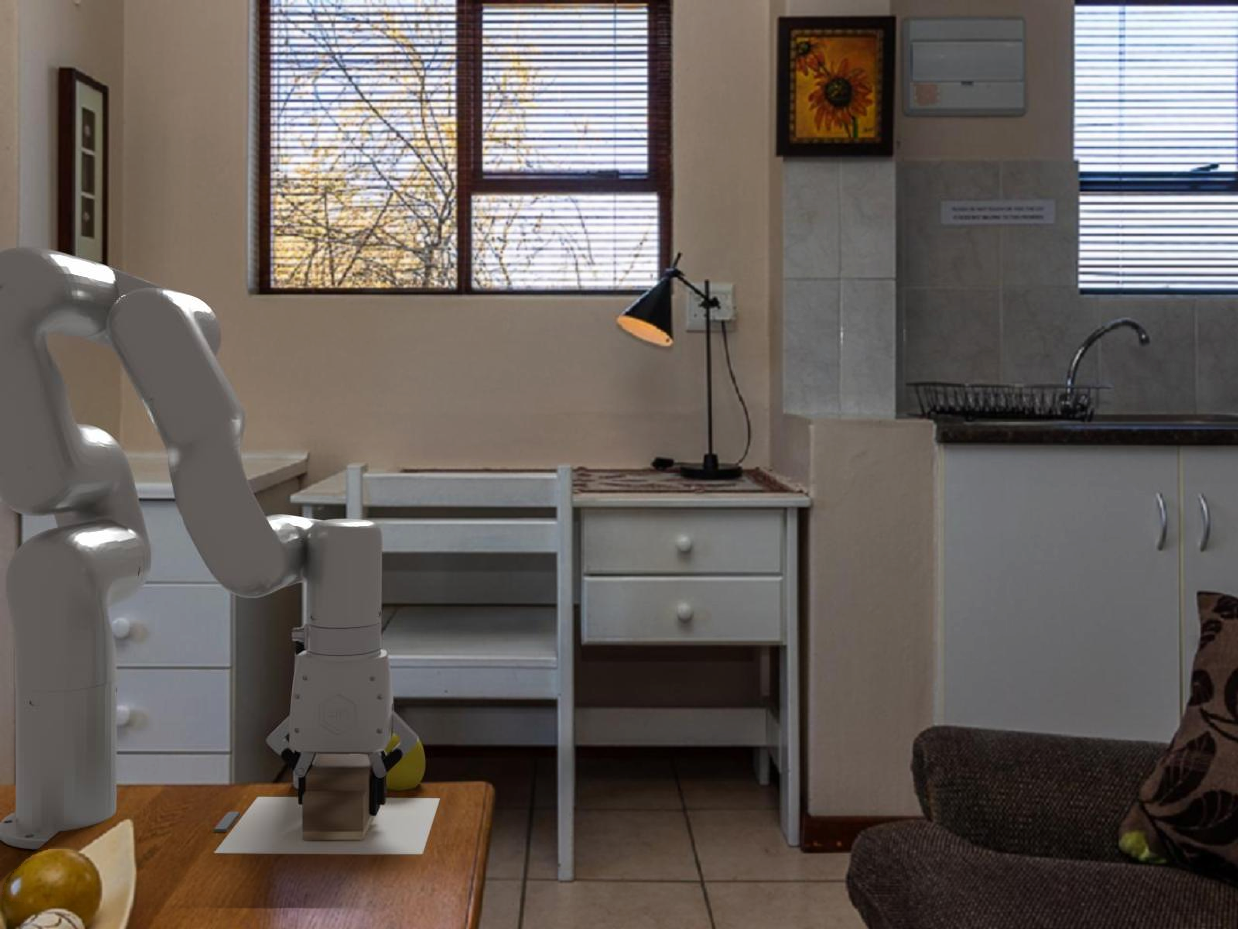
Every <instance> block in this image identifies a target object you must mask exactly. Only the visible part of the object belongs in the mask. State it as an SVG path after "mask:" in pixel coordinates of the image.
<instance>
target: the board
mask: <svg viewBox="0 0 1238 929" xmlns="http://www.w3.org/2000/svg"><path fill="white" fill-rule="evenodd" d="M440 801H441V798H438V797H435V798H434V797H426V798H425V797H409V798H408V797H386V803H385V805H380V809H379V811H378V813H377V815H376V816H374V817H373V820H372V822H371V824H370V826H369V828H368V830H367V832H366V835H365V837H364V839H351V840H302V805H299V804H298V796H257V798H255V800H254V801H253V802H252V803H251V805H250V806H248V807H249V808H248V809H247V810H246V811H245V813H244V814H243V815H242V816H241V818H240V819H239V820H238V821H237V823H236V824H235V825H234V827H233V828H232V829H231V830H230V832H229V833H228V834H227V836H226V837H225V838H224V839H223V841H222V842H221V843H220V845H219V846H218V847H217V848H216V850H214V852H213V853H214V854H236V855H237V854H243V855H244V854H248V855H249V854H250V855H251V854H252V855H254V854H255V855H256V854H258V855H261V854H262V855H263V854H264V855H266V854H267V855H268V854H269V855H272V854H274V855H276V854H277V855H280V854H281V855H286V854H287V855H318V854H319V855H419V856H420V855H423V854H424V851H425V848H426V845H427V843H428V839H429V836H430V832H431V830H432V825H433V822H434V819H435V817H436V813H437V809H438V807H439V803H440Z"/></svg>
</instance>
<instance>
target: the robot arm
mask: <svg viewBox="0 0 1238 929" xmlns="http://www.w3.org/2000/svg"><path fill="white" fill-rule="evenodd" d="M49 334H52V335H56V336H57V335H58V336H66V337H74V338H79V339H82V340H87V341H90V342H92V343H95V344H97V345H101V346H104V347H107V348H110V349H112V350H113V351H114V353H115V355H116V357H117V359H118V361H119V363H120V364H121V366H122V368H123V370H124V372H125V373H126V375H127V377H128V379H129V381H130V382H131V383H130V384H131V385H132V386H133V388H134V389H135V392H136V394H137V396H138V397H139V399H140V401H141V403H142V405H143V407H144V408H145V410H146V413H147V415H148V417H149V418H150V420H151V423H152V424H153V426H154V428H155V429H156V432H157V434H158V436H159V437H160V439H161V441H162V444H163V446H164V447H165V450H166V454H167V465H168V472H169V477H170V480H171V486H172V491H173V497H174V500H175V501H174V502H175V504H176V508H177V510H178V514H179V516H180V518H181V521H182V523H183V525H184V527H185V529H186V531H187V533H188V535H189V537H190V539H191V541H192V542H193V545H194V546H195V549H196V550H197V552H198V554H199V556H200V558H201V560H202V561H203V563H204V565H205V566H206V568H207V569H208V571H209V572H210V574H211V575H212V577H213V578H214V579H215V580H216V582H217V583H218V584H219V585H220V586H221V587H222V588H223V589H225V590H226V591H228V592H229V593H231V594H233V595H235V596H237V597H242V598H248V599H254V598H255V599H257V598H261V597H264V596H267V595H270V594H272V593H275V592H276V591H279V590H281V589H282V588H286V587H290V586H293V585H296V584H299V583H306V618H305V619H306V622H305V624H304V625H303V626H300V627H293V628H292V631H291V640H292V641H293V642H294V641H300V642H303V645H305V649H306V650H305V651H303V652H301V653H300V654H298V657H297V662H296V667H295V672H294V674H293V678H292V680H293V681H292V689H291V696H290V697H291V698H290V712H289V716H287V718H285V719H284V720H283V721H282V722H281V723H280V724H279V725H278V726H277V727H276V728H275V729H274V730H273V731H272V732H271V733H270V734H269V735H268V736H267V737H266V739H265V741H266V744H267V745H268V746H269V747H270V748H271V749H273V752H275V753H276V754H277V755H279V756H280V758H281V760H282V761H283V762H284V763H285V764H286V765H287V766H289V767H290V769H291V770H292V771H293V770H294V773H295V775H296V776H297V777H298V789H297V790H298V792H297V793H298V794H297V795H298V796H297V797H298V804H299V805H302V796H303V794H304V793H305V792H306V774H307V773H308V772H309V770H310V769H311V767H312V766H313V765H312V763H313V761H314V759H315V756H316V754H350V755H362V754H367V756H368V759H369V761H370V764H371V766H372V768H373V771H372V775H371V777H370V780H369V814H370V815H371V816H376V815H377V813H378V811H379V809H380V805H385V803H386V798H387V789H386V773H387V772H388V771H389V770H391V769H392V768H393V767H394V766H395V765H396V764H397V763H398V762H399V761H400V760H401V758H402V757H403V756H405V755H406V754H407V753H408V752H409V751H410V750H411V749H412V748H413V747H414V746H415V745H416V744H417V742H418V740H420V738H419V735H418V734H417V732H415V731H414V730H413V729H412V728H411V727H410V726H409V725H408V724H407V723H406V722H405V721H404V720H403V719H402V717H401V716H399V715H398V714H397V713H396V711H395V708H394V695H393V694H394V692H393V680H392V671H391V664H390V660H389V655H388V652H387V650H386V649H382V599H383V598H382V595H383V594H382V591H383V590H382V589H383V588H382V587H383V583H382V581H383V578H382V577H383V575H382V574H383V534H382V530H381V528H380V526H379V525H378V524H377V523H375V522H373V521H371V520H367V519H360V518H359V519H358V518H333V519H332V518H331V519H325V520H322V519H315V518H309V517H302V516H297V515H290V514H271V515H267V516H266V515H265V512H264V511H263V509H262V507H261V505H260V504H259V502H258V499H257V497H256V496H255V494H254V491H253V489H252V487H251V485H250V483H249V480H248V478H247V475H246V472H245V469H244V464H243V459H242V442H243V437H244V433H245V430H246V429H245V428H246V413H245V410H244V408H243V406H242V404H241V402H240V401H239V398H238V396H237V394H236V393H235V391H234V389H233V387H232V385H231V384H230V382H229V381H228V378H227V376H226V375H225V373H224V371H223V369H222V368H221V365H220V363H219V361H218V360H217V358H216V356H217V354H218V353H219V350H220V348H221V343H222V337H223V336H222V329H221V325H220V323H219V320H218V317H217V316H216V314H215V313H214V311H213V309H212V308H211V307H210V306H209V305H207V304H206V303H205V302H204V301H203V300H201V299H199V298H197V297H195V296H193V295H190V294H188V293H184V292H180V291H179V290H178V291H177V290H175V289H171V288H169V287H165V286H163V285H158V284H157V283H155V282H151V281H149V280H147V279H143V278H141V277H138V276H135V275H132V274H129V273H128V272H124V271H122V270H120V269H117V268H114V267H111V266H108V265H106V264H103V263H99V262H98V261H94V260H89V259H85V258H82V257H79V256H75V255H71V254H68V253H65V252H62V251H57V250H55V249H54V250H53V249H49V248H45V247H44V248H43V247H39V246H38V247H36V246H17V247H11V248H7V249H3V250H1V251H0V498H1V499H2V501H3V503H4V504H5V505H6V506H7V507H8V508H10V509H11V510H12V511H14V512H15V513H18V514H20V515H22V516H23V515H24V516H28V517H46V516H54V519H55V522H56V526H57V527H54V528H50V529H47V530H44V531H41V532H39V533H37V534H35V535H33V536H31V537H29V538H28V539H26V540H25V541H24V542H23V543H22V544H21V545H20V546H19V547H18V548H17V549H16V551H15V552H14V553H13V555H12V557H10V560H9V563H8V566H7V569H6V574H5V586H4V587H5V594H6V601H7V606H8V612H9V616H10V621H11V628H12V635H13V647H14V686H15V811H14V812H12V813H10V814H8V815H7V816H5V817H4V818H3V819H2V820H1V821H0V841H2V842H3V843H5V844H6V845H9V846H11V847H14V848H18V849H19V848H20V849H29V850H38V849H39V848H41V847H42V846H43V845H44V844H45V843H47V842H48V841H49V840H50V839H52V838H53V837H54V836H55V835H56V834H57V833H59V832H64V831H71V830H77V829H83V828H87V827H89V826H94V825H97V824H100V823H102V822H104V821H106V820H108V819H110V818H112V817H113V816H114V815H115V814H116V813H117V781H118V780H117V770H118V769H117V765H118V764H117V760H118V758H117V754H118V753H117V751H118V748H117V746H118V745H117V744H118V743H117V738H118V737H117V736H118V735H117V731H118V730H117V729H118V728H117V726H118V724H117V721H118V720H117V719H118V718H117V716H118V715H117V714H118V713H117V712H118V705H117V704H118V702H117V701H118V688H117V686H118V682H117V681H118V677H117V649H116V642H115V636H114V632H113V628H112V624H111V622H110V617H109V612H108V608H109V607H111V606H113V605H116V604H119V603H122V602H124V601H126V600H129V599H130V598H131V597H133V596H134V595H136V594H137V593H138V592H139V591H140V590H141V589H142V587H143V586H144V585H145V583H146V582H147V580H148V578H149V575H150V572H151V567H152V550H151V543H150V539H149V535H148V530H147V526H146V523H145V520H144V514H143V511H142V507H141V503H140V499H139V496H138V491H137V488H136V484H135V479H134V475H133V472H132V469H131V465H130V462H129V460H128V457H127V454H125V452H124V450H123V448H122V446H120V444H119V442H118V441H117V440H116V439H115V438H114V437H113V436H112V435H111V434H109V433H108V432H107V431H105V430H103V429H102V428H100V427H97V426H93V425H91V424H86V423H77V421H76V419H75V416H74V413H73V411H72V407H71V403H70V398H69V396H68V391H67V385H66V382H65V379H64V376H63V374H62V371H61V369H60V367H59V365H58V363H57V362H56V359H54V357H53V355H52V353H51V351H50V350H49V347H48V344H47V336H48V335H49ZM393 733H395V734H396V735H397V736H398V737H399V738H400V740H401V742H400V743H399V744H398V745H397V746H396V747H394V748H393V749H392V750H391V751H390V752H389V753H388V754H386V751H385V749H386V747H387V746H388V745H389V742H390V738H391V737H392V736H393ZM287 735H288V739H287ZM288 740H289V741H288ZM300 752H301V753H300Z"/></svg>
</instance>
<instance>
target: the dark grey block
mask: <svg viewBox="0 0 1238 929" xmlns="http://www.w3.org/2000/svg"><path fill="white" fill-rule="evenodd" d="M240 815H241V812H240V811H228V812H226V814H225V815H224V817H223V818H222V819H220V821H219V823H218V824H217V825H216V826H215V827H214V828H213V832H214V833H227V832H228V830H229V829H230V828H231V827H232V825H234V823H235V821H236V820H237V819H238V818H239V817H240Z"/></svg>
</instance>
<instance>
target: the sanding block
mask: <svg viewBox="0 0 1238 929" xmlns="http://www.w3.org/2000/svg"><path fill="white" fill-rule="evenodd" d="M372 771H373V768H372V766H371V764H370V761H369V759H368V756H367V754H350V755H320V756H319V757H318V759H317V760H316V762H315V763H314V764H313V766H312V767H311V769H310V770H309V772H308V773H307V774H306V792H305V793H304V794H303V796H302V840H351V839H364V837H365V835H366V832H367V830H368V828H369V826H370V824H371V822H372V820H373V817H374V816H371V815H370V814H369V780H370V777H371V775H372Z"/></svg>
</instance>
